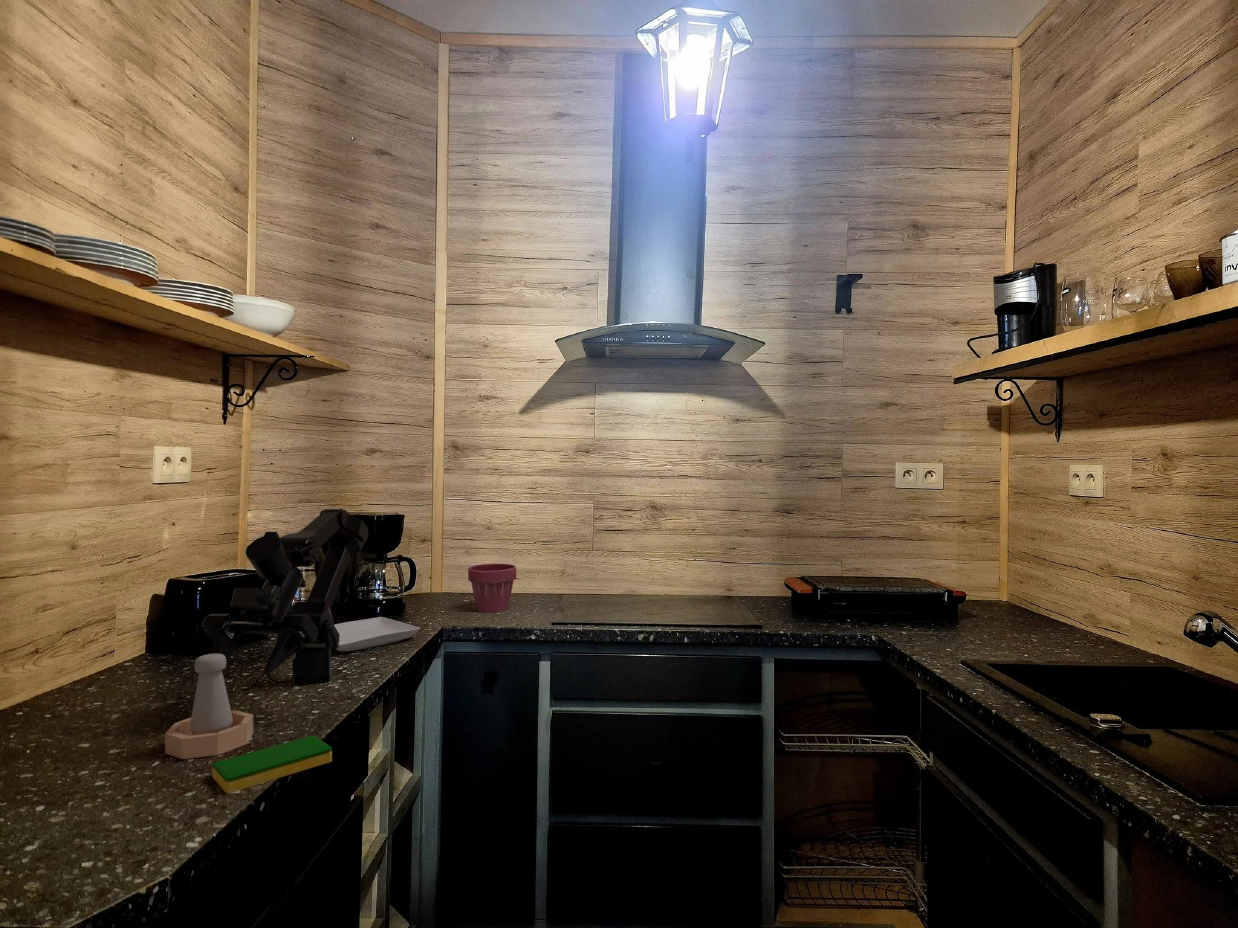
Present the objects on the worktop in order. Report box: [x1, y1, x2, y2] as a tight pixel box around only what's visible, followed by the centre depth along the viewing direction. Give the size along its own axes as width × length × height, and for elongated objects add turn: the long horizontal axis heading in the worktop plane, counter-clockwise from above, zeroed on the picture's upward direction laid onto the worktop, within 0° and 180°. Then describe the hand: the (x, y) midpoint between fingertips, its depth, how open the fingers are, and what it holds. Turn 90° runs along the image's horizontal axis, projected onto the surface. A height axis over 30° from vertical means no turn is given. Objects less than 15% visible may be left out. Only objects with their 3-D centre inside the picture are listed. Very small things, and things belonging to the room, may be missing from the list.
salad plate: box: [334, 616, 421, 653], centre depth 170 cm, size 21×21×3 cm
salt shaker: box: [190, 653, 233, 735], centre depth 108 cm, size 6×6×13 cm
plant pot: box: [467, 563, 517, 614], centre depth 205 cm, size 14×14×13 cm
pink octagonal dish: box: [164, 709, 254, 760], centre depth 107 cm, size 11×11×3 cm
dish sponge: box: [212, 735, 333, 794], centre depth 98 cm, size 7×14×2 cm, turn 134°
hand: (239, 673), depth 114 cm, fingers open, 9 cm apart
